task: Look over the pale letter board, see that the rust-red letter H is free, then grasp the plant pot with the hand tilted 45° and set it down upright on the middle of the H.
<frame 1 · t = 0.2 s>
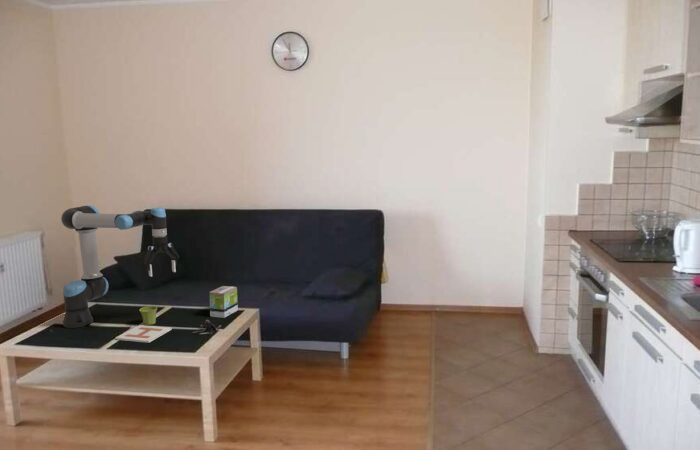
hand: (162, 274, 312), 28 cm above the table, tool pointing down, fingers open, 13 cm apart
tea box: (224, 313, 331), on the table
stuffed animal: (207, 331, 302), on the table
letter board: (144, 334, 298), on the table
plant pot: (149, 323, 316), on the table
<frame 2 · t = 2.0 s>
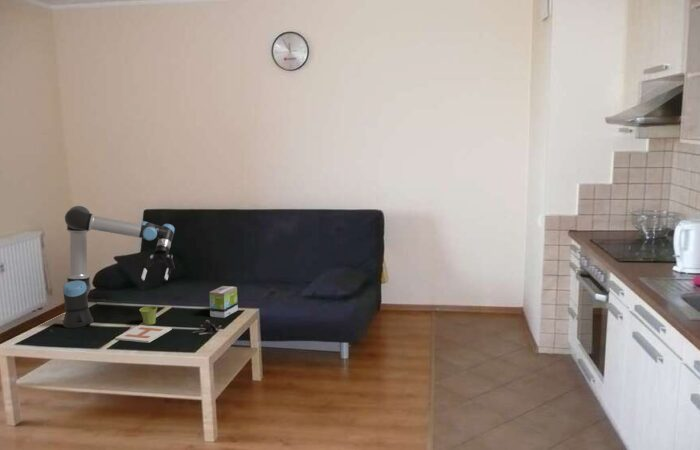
hand: (154, 279, 322), 23 cm above the table, tool tilted 45°, fingers open, 13 cm apart
nothing on the table moved.
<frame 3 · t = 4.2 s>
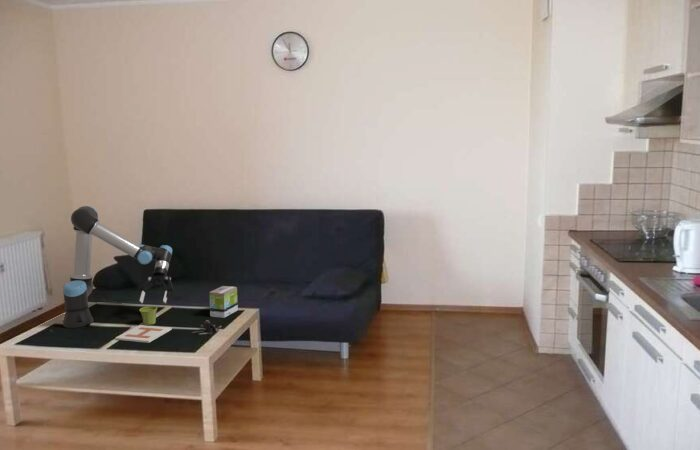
hand: (152, 302, 320), 11 cm above the table, tool tilted 45°, fingers open, 13 cm apart
nothing on the table moved.
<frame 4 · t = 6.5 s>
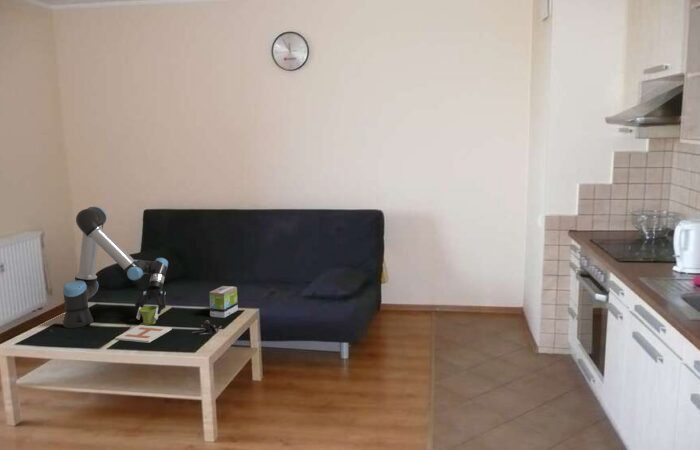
hand: (146, 318, 312), 4 cm above the table, tool tilted 45°, fingers closed on plant pot, 9 cm apart
plant pot: (149, 323, 316), on the table, touching gripper
everything else where it was.
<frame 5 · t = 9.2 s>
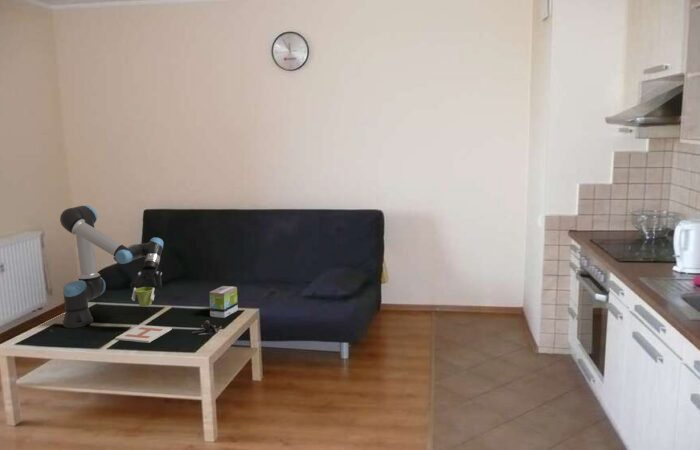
hand: (142, 299, 299), 18 cm above the table, tool tilted 45°, fingers closed on plant pot, 9 cm apart
plant pot: (145, 305, 303), point 14 cm above the table, touching gripper
everything else where it was.
when the fingers open (6 cm above the table, at t = 11.9 s): plant pot drops 1 cm, resting on letter board.
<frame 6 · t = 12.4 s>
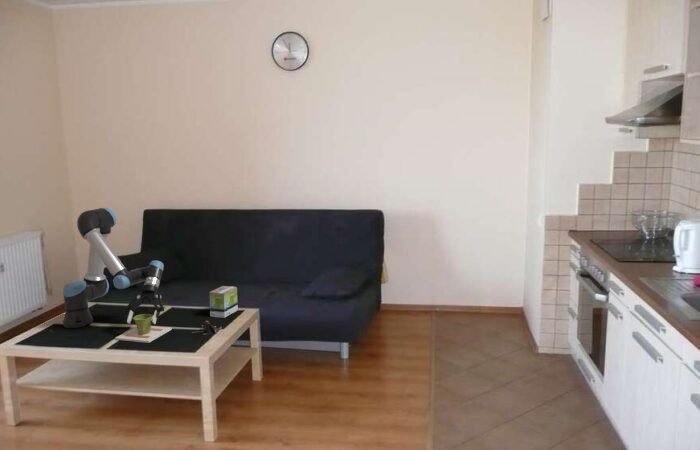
hand: (141, 322, 295), 7 cm above the table, tool tilted 45°, fingers open, 13 cm apart
plant pot: (144, 332, 298), point 1 cm above the table, touching letter board
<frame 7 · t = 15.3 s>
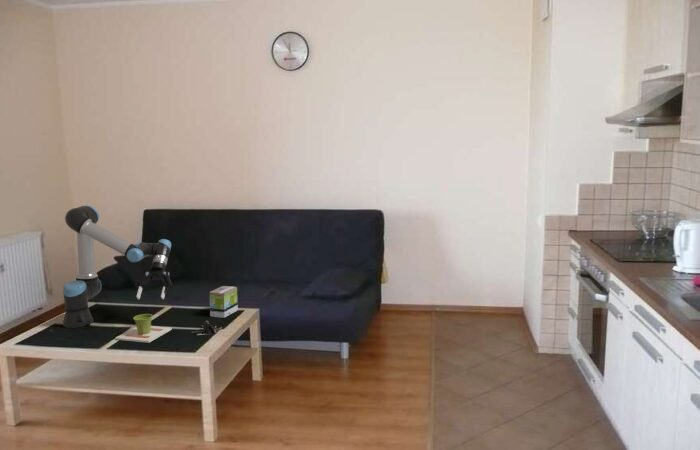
hand: (150, 298, 306), 17 cm above the table, tool tilted 45°, fingers open, 13 cm apart
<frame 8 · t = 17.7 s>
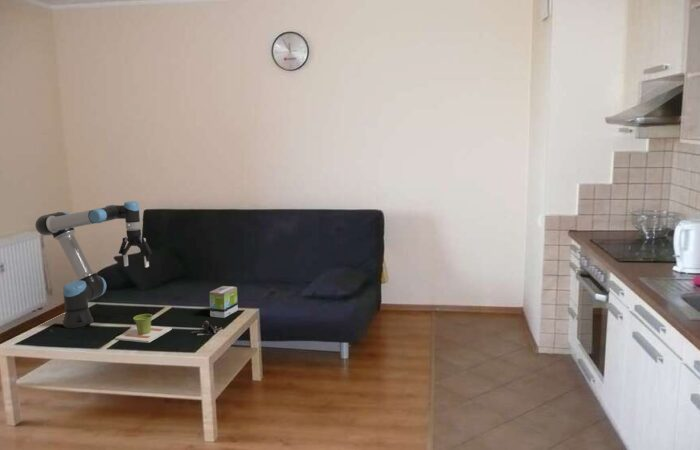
hand: (136, 266, 319), 31 cm above the table, tool pointing down, fingers open, 13 cm apart
at the end: plant pot inside the target area on the letter board (0.1 cm from its centre), point 0.8 cm above the letter board's base; plant pot tilted 0°; the gripper is holding nothing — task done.
